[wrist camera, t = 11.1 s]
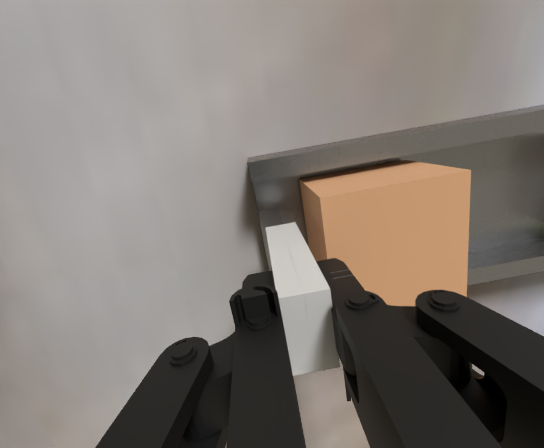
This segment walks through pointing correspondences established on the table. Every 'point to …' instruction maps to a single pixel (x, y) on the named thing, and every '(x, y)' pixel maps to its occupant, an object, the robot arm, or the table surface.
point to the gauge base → (447, 152)
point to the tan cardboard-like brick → (393, 226)
